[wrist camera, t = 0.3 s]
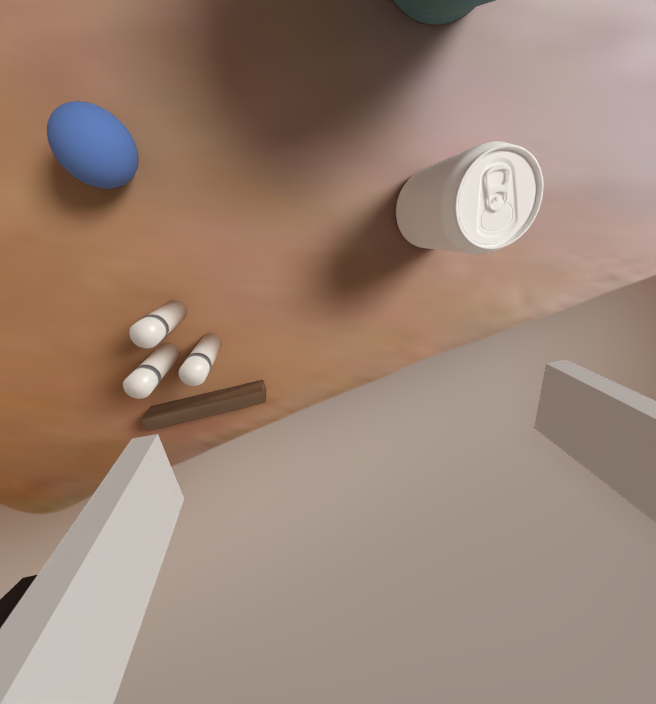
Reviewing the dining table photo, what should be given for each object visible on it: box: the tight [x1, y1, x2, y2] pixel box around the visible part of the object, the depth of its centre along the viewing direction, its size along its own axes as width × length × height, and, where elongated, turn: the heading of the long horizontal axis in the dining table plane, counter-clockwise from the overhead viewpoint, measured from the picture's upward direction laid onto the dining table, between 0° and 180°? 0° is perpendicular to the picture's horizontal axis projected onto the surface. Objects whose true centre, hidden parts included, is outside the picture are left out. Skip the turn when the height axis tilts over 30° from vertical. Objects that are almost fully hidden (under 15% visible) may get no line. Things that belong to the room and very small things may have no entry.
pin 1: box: [123, 343, 179, 399], centre depth 32 cm, size 2×2×8 cm
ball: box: [47, 101, 138, 189], centre depth 25 cm, size 6×6×6 cm
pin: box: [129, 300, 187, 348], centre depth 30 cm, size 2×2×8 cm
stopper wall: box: [141, 380, 266, 431], centre depth 37 cm, size 2×14×3 cm, turn 101°
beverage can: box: [396, 142, 543, 254], centre depth 29 cm, size 8×8×12 cm
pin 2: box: [179, 333, 222, 386], centre depth 32 cm, size 2×2×8 cm
